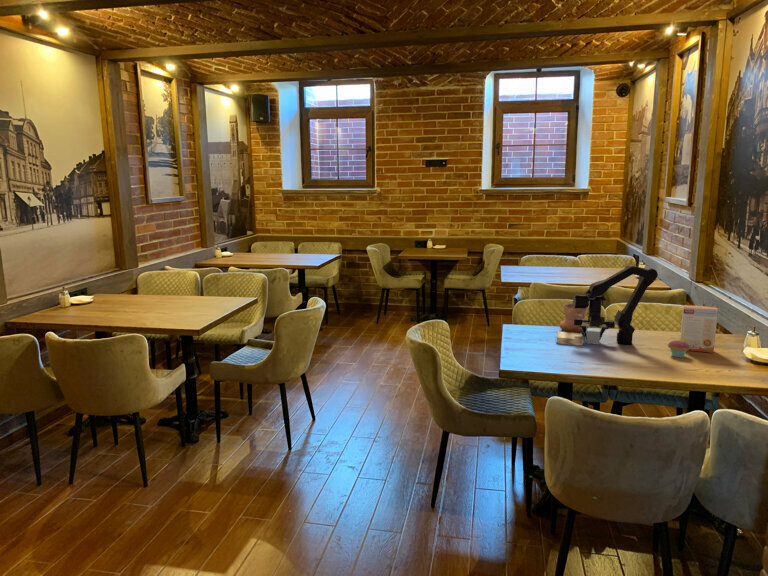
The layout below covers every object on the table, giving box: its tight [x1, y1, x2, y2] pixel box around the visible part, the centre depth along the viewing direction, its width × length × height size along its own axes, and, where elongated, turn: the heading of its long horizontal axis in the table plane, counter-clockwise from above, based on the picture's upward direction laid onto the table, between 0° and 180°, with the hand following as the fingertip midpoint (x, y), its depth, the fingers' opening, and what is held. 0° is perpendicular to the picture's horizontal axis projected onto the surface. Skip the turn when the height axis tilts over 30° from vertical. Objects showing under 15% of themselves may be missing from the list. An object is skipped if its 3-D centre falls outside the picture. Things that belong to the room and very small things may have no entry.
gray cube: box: [585, 327, 601, 345], centre depth 276 cm, size 6×6×6 cm
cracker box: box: [679, 304, 719, 354], centre depth 261 cm, size 14×6×21 cm, turn 65°
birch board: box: [556, 330, 584, 346], centre depth 277 cm, size 12×12×3 cm
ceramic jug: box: [559, 303, 589, 334], centre depth 294 cm, size 18×14×14 cm
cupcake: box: [667, 332, 690, 358], centre depth 253 cm, size 9×8×12 cm
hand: (592, 339), depth 276 cm, fingers closed on gray cube, 6 cm apart
